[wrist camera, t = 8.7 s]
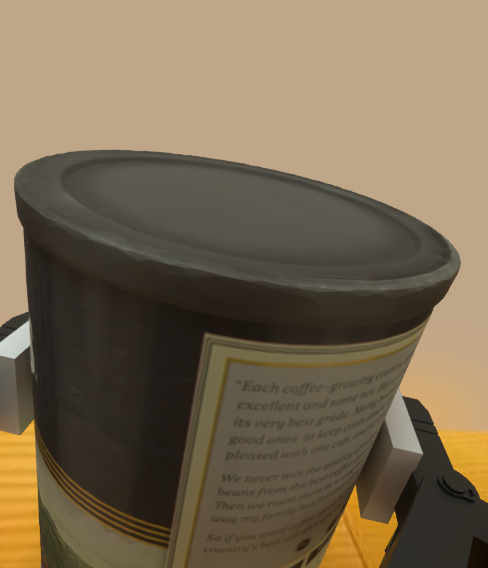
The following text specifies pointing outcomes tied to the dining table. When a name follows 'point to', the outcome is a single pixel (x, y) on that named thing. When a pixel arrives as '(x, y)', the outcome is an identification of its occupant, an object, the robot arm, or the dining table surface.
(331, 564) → the dining table surface
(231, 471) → the coffee can
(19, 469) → the dining table surface
